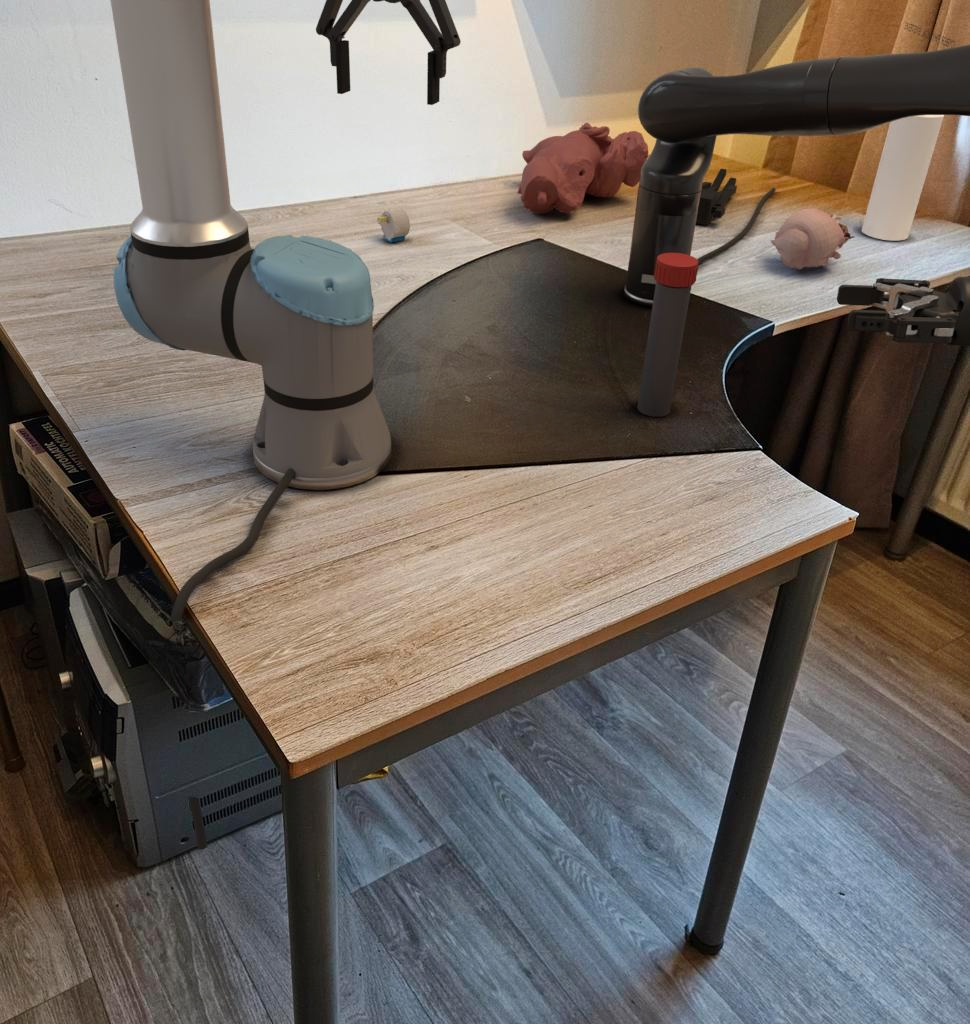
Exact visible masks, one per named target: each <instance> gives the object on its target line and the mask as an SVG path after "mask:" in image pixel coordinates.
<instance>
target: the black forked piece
mask: <svg viewBox="0 0 970 1024" xmlns="http://www.w3.org/2000/svg"><path fill="white" fill-rule="evenodd" d="M727 171H728V170H727V169H726V168H720V169H719V171H718V173H717V175H716V177H715V178H714V180H713V182H710V181H703V184H702V189H701V195H700V201H699V207H698V213H697V219H696V224H699V225H706V226H707V225H709V223H711V221H712V220H713V218H716V219H722V217H723V216H724V215H725V212H726V204H727V203H728V201H729V199H730V198H731V197H732V196H734V195H735V194H736V193H737V188H738V185H736V182H737V177H732V176H731V177H730V178H729V179H728V180H727V182H726V183H725V185H724V187H723V188H722V190H719V189H720V188H721V186H722V184H723V181H724V180H725V178H726V176H727Z"/></svg>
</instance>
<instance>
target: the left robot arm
mask: <svg viewBox="0 0 970 1024" xmlns="http://www.w3.org/2000/svg"><path fill="white" fill-rule="evenodd" d="M343 1H344V0H325V3H324V5H323V8H322V11H321V13H320V16H319V19H318V22H317V24H316V27H315V33H316V34H317V35H318V36H323V37H324V38H326V39H327V40H328V42H329V54H330V56H329V57H330V65H331V67H335V70H336V71H335V72H336V94H339V95H343V94H346V93H349V92H351V67H350V66H351V63H350V41H349V40H345V38H346V36H345V35H347V33H348V31H349V30H350V29H351V27H352V26H353V24H354V23H355V21H356V20H357V19H358V18H359V16H360V14H361V13H362V12H363V10H364V9H365V8H366V6H367V5H368V4H369V3H370V2H371V1H372V2H377V3H380V2H384V1H385V2H387V3H389V4H398V3H400V4H401V5H402V7H403V8H405V9H406V10H407V12H408V13H409V15H410V17H411V18H412V20H413V21H414V22H415V24H416V26H417V27H418V29H419V31H420V32H421V33H422V35H423V36H424V38H425V39H426V40H427V43H428V44H429V46H430V47H431V48H432V50H431V51H428V52H427V74H426V75H427V79H426V80H427V85H426V87H427V88H426V105H429V106H433V105H435V104H438V103H440V93H441V92H440V91H441V90H440V89H441V87H440V86H441V83H440V81H441V79H443V78H445V77H446V74H447V54H448V51H449V50H451V49H454V48H457V47H459V46H460V45H461V42H462V41H461V38H460V35H459V33H458V30H457V27H456V24H455V22H454V19H453V17H452V14H451V11H450V9H449V7H448V4H447V1H446V0H428V2H429V5H430V8H431V10H432V13H433V15H434V18H435V21H436V23H437V25H438V26H437V25H436V23H435V22H434V20H433V19H432V17H431V15H429V13H428V11H427V9H426V8H425V6H424V5H423V3H422V2H421V0H351V1H350V2H349V3H348V5H347V6H346V8H345V9H344V11H343V12H342V14H341V15H340V16H339V18H338V19H337V17H338V14H339V12H340V9H341V6H342V4H343ZM110 6H111V12H112V19H113V20H112V21H113V27H114V31H115V39H116V45H117V52H118V59H119V64H120V70H121V77H122V84H123V90H124V96H125V97H124V98H125V103H126V110H127V116H128V122H129V123H128V124H129V129H130V136H131V142H132V149H133V156H134V161H135V169H136V175H137V180H138V187H139V194H140V199H141V206H142V210H141V211H140V212H139V214H138V215H137V216H136V217H135V218H134V220H133V221H132V222H131V224H130V225H129V232H130V236H128V237H127V238H126V239H125V240H124V241H123V243H122V244H121V246H120V247H119V249H118V252H117V256H116V260H117V261H118V265H117V266H114V268H113V288H114V294H115V298H116V302H117V305H118V307H119V310H120V312H121V315H122V316H123V318H124V319H125V321H126V323H127V324H128V325H129V327H130V328H131V329H133V331H134V332H136V333H137V334H138V335H139V336H141V337H143V338H144V339H145V340H148V341H150V342H154V343H157V344H161V345H164V346H167V347H169V348H171V349H174V350H178V351H191V352H197V353H202V354H207V355H211V356H216V357H222V358H226V359H231V360H236V361H242V362H248V363H251V364H252V363H253V364H257V365H259V366H261V370H262V379H263V388H264V390H263V391H264V396H263V400H262V404H261V408H260V412H259V415H258V419H257V423H256V427H255V430H254V434H253V439H252V441H253V442H252V455H253V460H254V464H255V467H256V468H257V470H258V471H259V472H260V473H261V474H262V475H263V476H265V477H266V478H268V479H269V480H271V481H273V482H275V483H277V485H275V488H274V489H273V490H272V492H271V493H270V495H269V496H268V498H267V499H266V501H265V502H264V503H263V504H262V506H261V507H260V509H259V511H258V512H257V514H256V515H255V517H254V520H253V522H252V525H251V527H250V530H249V533H248V535H247V536H246V538H245V539H244V540H243V541H242V542H241V543H240V544H238V545H236V547H234V548H232V549H230V550H229V551H226V552H224V553H222V554H221V555H219V556H217V557H215V558H214V559H212V560H210V561H209V562H208V563H206V564H205V565H204V566H203V567H202V568H201V569H199V570H197V571H196V572H195V573H194V574H193V575H192V576H190V577H189V578H188V580H187V581H185V583H184V584H183V586H182V587H181V589H180V590H179V592H178V594H177V596H176V599H175V601H174V604H173V607H172V610H171V613H170V621H172V622H177V621H180V620H181V619H182V618H183V616H184V613H185V609H186V606H187V604H188V602H189V599H190V597H191V595H192V593H193V591H194V590H195V589H196V588H197V587H198V586H199V585H200V584H202V583H203V582H204V581H205V580H206V579H208V578H209V577H210V576H211V575H213V573H215V572H216V571H218V570H219V569H220V568H222V567H224V566H226V565H227V564H230V563H232V562H233V561H235V560H237V559H238V558H241V557H242V556H243V555H245V554H246V553H248V552H249V551H250V549H251V548H253V546H254V545H255V543H256V542H257V541H258V539H259V538H260V535H261V531H262V529H263V525H264V523H265V522H266V520H267V517H268V516H269V515H270V512H271V511H272V510H273V508H274V507H275V505H276V504H277V503H278V501H279V500H280V498H281V496H282V495H283V494H284V492H285V491H286V489H287V488H288V487H290V488H295V489H301V490H312V491H314V490H315V491H323V490H327V491H328V490H337V489H342V488H348V487H351V486H355V485H358V484H361V483H363V482H366V481H368V480H370V479H373V478H374V477H375V476H377V475H378V474H380V473H381V472H382V471H383V470H384V469H385V468H386V467H387V466H388V464H389V463H390V461H391V458H392V437H391V432H390V430H389V427H388V424H387V422H386V419H385V417H384V413H383V411H382V408H381V406H380V403H379V400H378V398H377V395H376V393H375V385H374V320H373V319H374V318H373V317H374V315H373V314H374V308H375V301H374V297H373V292H372V283H371V275H370V270H369V267H368V266H367V264H366V263H365V262H364V260H363V259H362V258H361V257H360V256H359V254H357V253H356V252H355V251H353V250H352V249H351V248H348V247H346V246H345V245H343V244H340V243H338V242H335V241H331V240H329V239H324V238H322V237H317V236H310V235H300V236H299V237H296V236H293V235H288V234H287V235H279V236H273V237H269V238H265V239H264V240H262V241H260V242H259V243H258V244H257V245H255V247H254V248H253V247H251V242H250V241H251V240H250V233H249V223H248V220H247V219H246V218H245V216H243V215H242V214H240V213H239V212H238V211H237V210H236V209H234V207H233V206H232V203H231V194H230V185H229V183H230V182H229V175H228V174H229V173H228V165H227V156H226V155H227V154H226V146H225V137H224V129H223V128H224V127H223V118H222V117H223V115H222V106H221V97H220V88H219V78H218V67H217V59H216V57H217V56H216V49H215V40H214V30H213V29H214V28H213V21H212V20H213V19H212V11H211V2H210V0H110ZM336 19H337V21H336ZM187 798H188V803H189V808H190V812H191V816H192V822H193V827H194V832H195V838H196V844H197V849H198V850H203V851H204V850H205V849H207V847H208V842H207V837H206V836H207V835H206V830H205V823H204V818H203V813H202V808H201V803H200V798H199V797H195V796H189V795H188V797H187Z"/></svg>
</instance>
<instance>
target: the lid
mask: <svg viewBox="0 0 970 1024" xmlns="http://www.w3.org/2000/svg"><path fill="white" fill-rule="evenodd" d="M697 259H698V258H696V257H694V256H692V255H686V254H682V253H664V254H660V255H659V256H658V257H657V261H656V265H655V272H654V279H655V280H656V281H657V282H658V283H660V284H663V285H666V286H671V287H688V286H691V285H692V286H694V284H695V283H696V281H697V276H698V271H699V265H698V260H697ZM692 286H691V287H692Z"/></svg>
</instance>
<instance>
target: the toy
mask: <svg viewBox="0 0 970 1024" xmlns="http://www.w3.org/2000/svg"><path fill="white" fill-rule="evenodd" d="M842 221H843V220H842V217H840V216H838V215H837V214H835V213H833V214H831V215H830V214H828V213H827V212H826V211H823V210H820V209H817V208H802V209H799V210H797V211H796V212H793V213H792V214H791V215H790V216H789V217H787V218H786V219H785V220H784V221H783V223H782V224H781V226H780V227H779V229H778V231H775V236H774V239H770V240H769V241H770V243H771V244H772V245H773V247H775V249H776V250H777V251H776V252H778V254H779V256H780V258H781V260H782V262H783V264H785V266H787V267H788V268H791V269H796V270H797V271H798V270H799V271H800V270H801V271H802V270H803V269H804V268H817V269H819V267H820V266H821V268H824V267H826V266H828V264H829V260H830V259H832V258H833V259H835V260H839V259H841V257H842V254H840V253H839V252H838V250H840V249H842V248H843V246H844V245H845V244H846V243H847V242H848V241H849V240H852V239H854V238H855V236H851V233H850V231H849V228H848V224H847V223H842Z"/></svg>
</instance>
